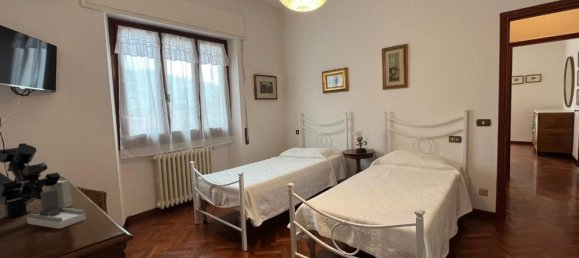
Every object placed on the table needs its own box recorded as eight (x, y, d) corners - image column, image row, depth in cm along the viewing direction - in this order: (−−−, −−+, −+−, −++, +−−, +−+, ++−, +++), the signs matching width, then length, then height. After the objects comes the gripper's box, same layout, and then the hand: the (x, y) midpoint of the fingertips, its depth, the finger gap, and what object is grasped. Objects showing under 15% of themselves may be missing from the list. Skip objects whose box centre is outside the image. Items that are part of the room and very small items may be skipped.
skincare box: (73, 205, 129) (70, 179, 129) (64, 208, 125) (61, 182, 124) (61, 205, 130) (58, 180, 129) (52, 208, 126) (49, 182, 125)
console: (27, 223, 108) (26, 213, 108) (54, 215, 117) (53, 206, 116) (59, 228, 101) (58, 218, 101) (85, 219, 109) (84, 209, 109)
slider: (40, 215, 108) (37, 192, 108) (54, 210, 113) (52, 189, 112) (47, 216, 106) (45, 193, 106) (62, 211, 111) (59, 189, 111)
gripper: (-2, 162, 104) (18, 192, 100) (55, 154, 121) (74, 179, 118) (-11, 182, 107) (9, 211, 104) (46, 171, 124) (64, 196, 121)
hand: (41, 198), depth 111 cm, fingers closed
